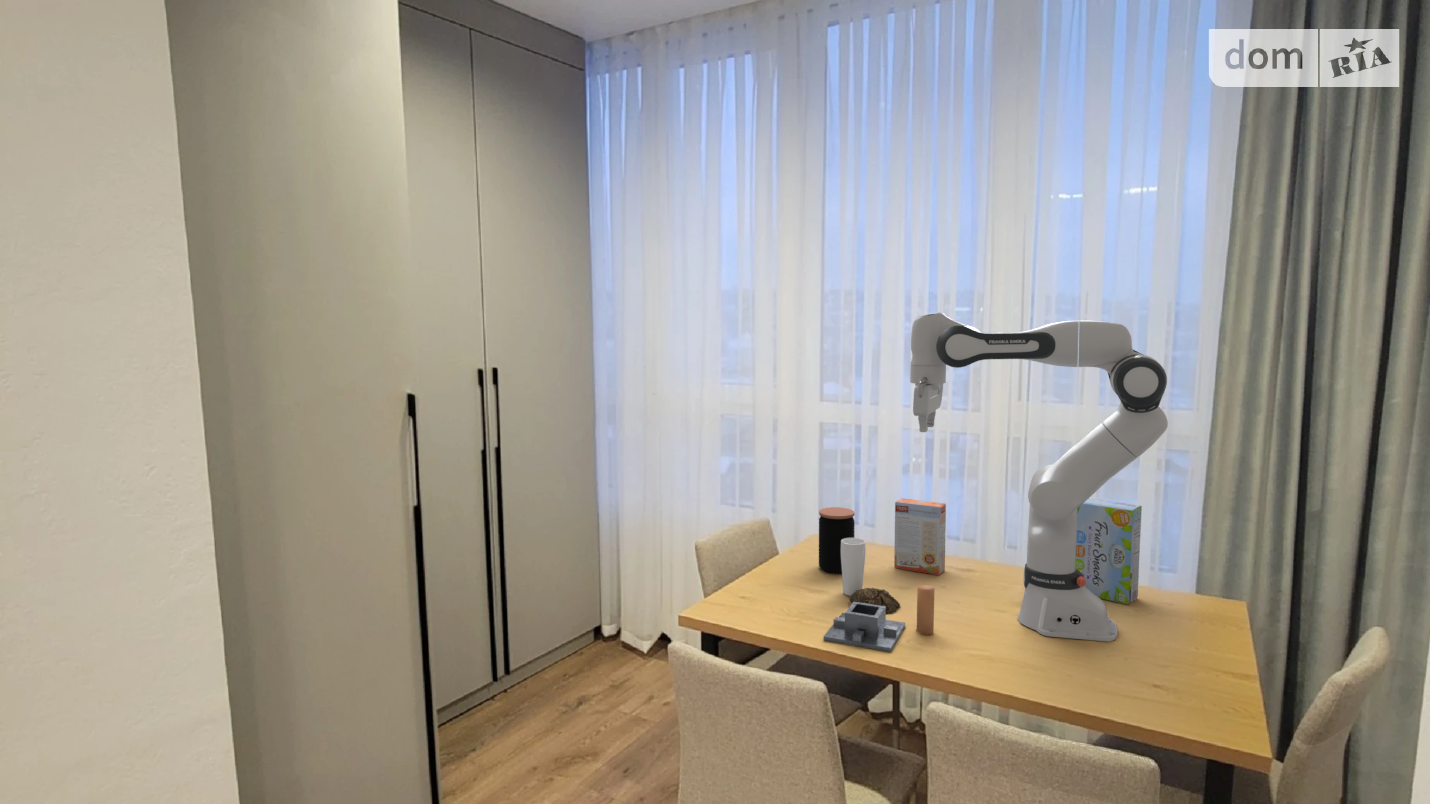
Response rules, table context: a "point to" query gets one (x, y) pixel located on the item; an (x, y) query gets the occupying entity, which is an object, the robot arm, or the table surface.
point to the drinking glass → (852, 564)
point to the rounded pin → (925, 609)
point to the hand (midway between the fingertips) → (926, 429)
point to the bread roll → (876, 598)
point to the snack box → (1109, 548)
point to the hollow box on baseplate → (865, 628)
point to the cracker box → (920, 536)
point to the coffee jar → (833, 536)
